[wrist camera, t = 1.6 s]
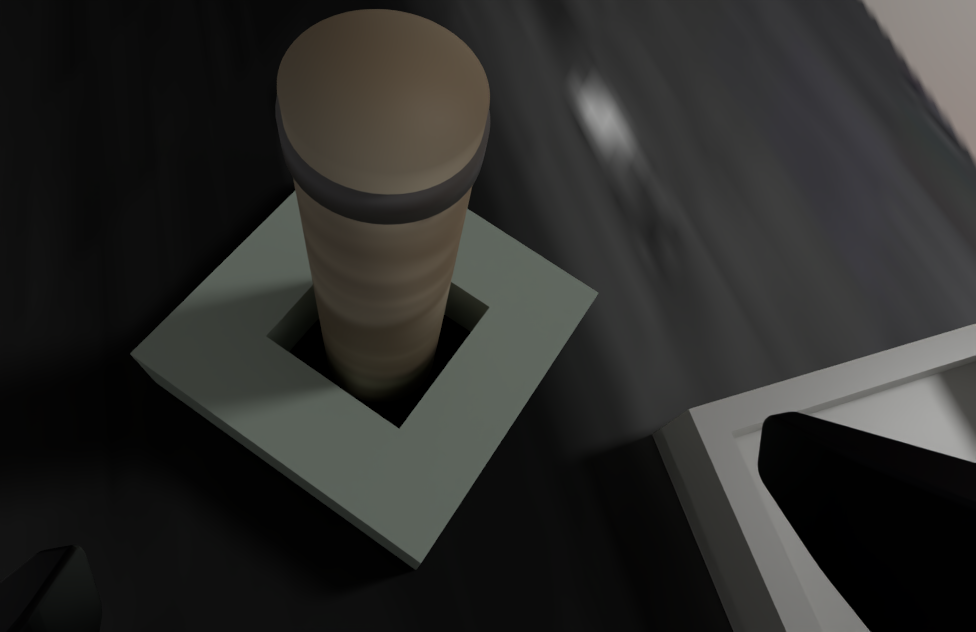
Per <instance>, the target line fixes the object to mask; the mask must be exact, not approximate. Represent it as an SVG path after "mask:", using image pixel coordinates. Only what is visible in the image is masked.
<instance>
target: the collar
mask: <svg viewBox="0 0 976 632" xmlns="http://www.w3.org/2000/svg"><path fill="white" fill-rule="evenodd" d="M597 295H598V292H596V291H595V290H593V289H591V288H590V287H588V286H587V285H585V284H584V283H582V282H581V281H579V280H577V279H576V278H574V277H573V276H571V275H570V274H568V273H567V272H565V271H563V270H562V269H560V268H559V267H557V266H556V265H554V264H553V263H551V262H549V261H548V260H546V259H545V258H543V257H542V256H540V255H539V254H537V253H535V252H534V251H532V250H531V249H529V248H528V247H526V246H524V245H523V244H521V243H520V242H518V241H517V240H515V239H514V238H512V237H510V236H509V235H507V234H506V233H504V232H503V231H501V230H500V229H498V228H496V227H495V226H493V225H492V224H490V223H489V222H487V221H486V220H484V219H482V218H481V217H479V216H478V215H476V214H475V213H473V212H472V211H470V210H468V209H467V211H466V216H465V220H464V225H463V230H462V234H461V239H460V243H459V248H458V252H457V257H456V262H455V266H454V271H453V275H452V280H451V285H450V289H449V294H448V298H447V303H446V307H445V312H444V315H446V316H447V317H449V318H450V319H452V320H453V321H455V322H456V323H458V324H459V325H461V326H463V327H464V328H466V329H467V330H469V331H470V332H471V333H470V334H469V336H468V337H467V338H466V340H465V341H464V342H463V344H462V345H461V347H460V348H459V349H458V351H457V352H456V353H455V355H454V356H453V357H452V359H451V360H450V361H449V363H448V364H447V365H446V367H445V368H444V369H443V371H442V372H441V373H440V375H439V376H438V377H437V379H436V380H435V382H434V383H433V384H432V386H431V387H430V388H429V390H428V391H427V392H426V394H425V395H424V396H423V398H422V399H421V400H420V402H419V403H418V404H417V406H416V407H415V408H414V410H413V411H412V412H411V414H410V415H409V417H408V418H407V419H406V421H405V422H404V423H403V425H402V426H401V427H400V429H399V428H397V427H396V426H394V425H393V424H391V423H390V422H389V421H387V420H386V419H384V418H383V417H381V416H380V415H378V414H377V413H376V412H374V411H373V410H371V409H370V408H368V407H367V406H366V405H364V404H363V403H361V402H360V401H358V400H357V399H355V398H354V397H353V396H351V395H350V394H348V393H347V392H345V391H344V390H343V389H341V388H340V387H338V386H337V385H335V384H334V383H332V382H331V381H330V380H328V379H327V378H325V377H324V376H322V375H321V374H320V373H318V372H317V371H315V370H314V369H312V368H311V367H309V366H308V365H307V364H305V363H304V362H302V361H301V360H299V359H298V358H297V357H295V356H294V355H292V354H291V353H289V351H290V350H291V349H292V348H293V347H294V346H295V345H296V343H297V342H298V341H299V340H300V339H301V338H302V337H303V336H304V334H305V333H306V332H307V331H308V330H309V329H310V328H311V326H312V325H313V324H314V323H315V322H316V321H317V320H318V319H319V314H318V309H317V303H316V298H315V292H314V287H313V282H312V276H311V271H310V266H309V260H308V255H307V250H306V244H305V239H304V233H303V228H302V223H301V217H300V212H299V207H298V201H297V196H296V191H294V192H293V193H292V194H291V195H290V196H289V197H288V198H287V199H286V200H285V201H284V202H283V203H282V204H281V205H280V206H279V207H278V208H277V209H276V210H275V211H274V212H273V213H272V214H271V215H270V216H269V217H268V218H267V219H266V220H265V221H264V222H263V223H262V224H261V225H260V226H259V227H258V228H257V229H256V230H255V231H254V232H253V233H252V234H251V235H250V236H249V237H248V238H247V239H246V240H245V241H244V242H243V243H242V244H241V245H240V246H239V247H238V248H237V249H236V250H234V251H233V252H232V253H231V254H230V255H229V256H228V257H227V258H226V259H225V260H224V261H223V262H222V263H221V264H220V265H219V266H218V267H217V268H216V269H215V270H214V271H213V272H212V273H211V274H210V275H209V276H208V277H207V278H206V279H205V280H204V281H203V282H202V283H201V284H200V285H199V286H198V287H197V288H196V289H195V290H194V291H193V292H192V293H191V294H190V295H189V296H188V297H187V298H186V299H185V300H184V301H183V302H182V303H181V304H180V305H179V306H178V307H177V308H176V309H175V310H174V311H173V312H172V313H171V314H170V315H169V316H168V317H167V318H166V319H165V320H164V321H163V322H162V323H161V324H160V325H159V326H158V327H157V328H156V329H155V330H154V331H153V332H152V333H150V334H149V335H148V336H147V337H146V338H145V339H144V340H143V341H142V342H141V343H140V344H139V345H138V346H137V347H136V348H135V349H134V350H133V351H132V352H131V353H130V354H131V356H132V357H133V358H134V359H135V360H136V361H137V362H138V363H139V364H140V365H141V367H142V368H143V369H144V370H145V371H146V372H147V373H148V374H149V375H150V376H151V378H152V379H153V380H154V381H155V382H156V383H157V384H159V385H160V386H162V387H163V388H164V389H166V390H167V391H168V392H170V393H171V394H173V395H174V396H175V397H177V398H178V399H180V400H181V401H182V402H184V403H185V404H186V405H188V406H189V407H191V408H192V409H193V410H195V411H196V412H198V413H199V414H200V415H202V416H203V417H204V418H206V419H207V420H209V421H210V422H211V423H213V424H214V425H216V426H217V427H218V428H220V429H221V430H223V431H224V432H225V433H227V434H228V435H229V436H231V437H232V438H234V439H235V440H236V441H238V442H239V443H241V444H242V445H243V446H245V447H246V448H247V449H249V450H250V451H252V452H253V453H254V454H256V455H257V456H259V457H260V458H261V459H263V460H264V461H265V462H267V463H268V464H270V465H271V466H272V467H274V468H275V469H277V470H278V471H279V472H281V473H282V474H283V475H285V476H286V477H288V478H289V479H290V480H292V481H293V482H295V483H296V484H297V485H299V486H300V487H301V488H303V489H304V490H306V491H307V492H308V493H310V494H311V495H313V496H314V497H315V498H317V499H318V500H319V501H321V502H322V503H324V504H325V505H326V506H328V507H329V508H331V509H332V510H333V511H335V512H336V513H338V514H339V515H340V516H342V517H343V518H344V519H346V520H347V521H349V522H350V523H351V524H353V525H354V526H356V527H357V528H358V529H360V530H361V531H362V532H364V533H365V534H367V535H368V536H369V537H371V538H372V539H374V540H375V541H376V542H378V543H379V544H380V545H382V546H383V547H385V548H386V549H387V550H389V551H390V552H392V553H393V554H394V555H396V556H397V557H398V558H400V559H401V560H403V561H404V562H405V563H407V564H408V565H410V566H411V567H412V568H414V569H415V570H416V569H417V568H418V566H419V565H420V564H421V562H422V561H423V559H424V558H425V556H426V555H427V553H428V552H429V550H430V549H431V547H432V546H433V544H434V543H435V541H436V539H437V538H438V536H439V535H440V533H441V532H442V530H443V529H444V527H445V526H446V524H447V523H448V521H449V520H450V518H451V517H452V515H453V514H454V512H455V511H456V509H457V508H458V506H459V504H460V503H461V501H462V500H463V498H464V497H465V495H466V494H467V492H468V491H469V489H470V488H471V486H472V485H473V483H474V482H475V480H476V479H477V477H478V476H479V474H480V473H481V471H482V469H483V468H484V466H485V465H486V463H487V462H488V460H489V459H490V457H491V456H492V454H493V453H494V451H495V450H496V448H497V447H498V445H499V444H500V442H501V441H502V439H503V438H504V436H505V434H506V433H507V431H508V430H509V428H510V427H511V425H512V424H513V422H514V421H515V419H516V418H517V416H518V415H519V413H520V412H521V410H522V409H523V407H524V406H525V404H526V403H527V401H528V399H529V398H530V396H531V395H532V393H533V392H534V390H535V389H536V387H537V386H538V384H539V383H540V381H541V380H542V378H543V377H544V375H545V374H546V372H547V371H548V369H549V368H550V366H551V365H552V363H553V361H554V360H555V358H556V357H557V355H558V354H559V352H560V351H561V349H562V348H563V346H564V345H565V343H566V342H567V340H568V339H569V337H570V336H571V334H572V333H573V331H574V330H575V328H576V326H577V325H578V323H579V322H580V320H581V319H582V317H583V316H584V314H585V313H586V311H587V310H588V308H589V307H590V305H591V304H592V302H593V301H594V299H595V298H596V296H597Z"/></svg>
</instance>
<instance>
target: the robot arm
mask: <svg viewBox="0 0 976 632" xmlns="http://www.w3.org/2000/svg"><path fill="white" fill-rule="evenodd" d="M757 465H758V472H759V476H760V478H761V480H762V482H763V484H764V485H765V487H766V488H767V490H768V491H769V493H770V494H771V496H772V498H773V499H774V501H775V502H776V504H777V505H778V507H779V508H780V510H781V511H782V513H783V514H784V516H785V517H786V519H787V520H788V522H789V523H790V525H791V526H792V528H793V529H794V531H795V532H796V534H797V535H798V537H799V538H800V540H801V541H802V543H803V544H804V546H805V547H806V549H807V550H808V552H809V554H810V555H811V556H812V558H813V559H814V561H815V562H816V564H817V565H818V566H819V568H820V569H821V570H822V572H823V573H824V574H825V576H826V577H827V578H828V580H829V581H830V582H831V584H832V585H833V586H834V587H835V588H836V590H837V591H838V592H839V593H840V595H841V596H842V597H843V598H844V600H845V601H846V602H847V603H848V605H849V606H850V607H851V608H852V610H853V611H854V612H855V613H856V615H857V616H858V617H859V618H860V620H861V621H862V622H863V623H864V624H865V626H866V627H867V628H868V629H869V631H870V632H976V463H974V462H971V461H967V460H964V459H960V458H957V457H953V456H950V455H946V454H943V453H939V452H936V451H932V450H929V449H925V448H922V447H918V446H915V445H911V444H908V443H904V442H900V441H897V440H893V439H890V438H886V437H883V436H879V435H876V434H872V433H869V432H865V431H862V430H858V429H855V428H851V427H848V426H844V425H841V424H837V423H834V422H830V421H827V420H823V419H820V418H816V417H813V416H809V415H806V414H802V413H799V412H785V413H779V414H774V415H770V416H768V417H767V418H766V419H765V420H764V422H763V425H762V431H761V439H760V447H759V455H758V464H757ZM101 616H102V609H101V600H100V596H99V593H98V590H97V587H96V584H95V581H94V578H93V575H92V572H91V569H90V566H89V563H88V560H87V557H86V554H85V552H84V551H83V549H82V548H81V547H79V546H77V545H69V546H64V547H58V548H53V549H48V550H43V551H40V552H38V553H36V554H35V555H34V556H32V557H31V558H30V559H28V560H27V561H26V562H25V563H23V564H22V565H21V566H20V567H18V568H17V569H16V570H15V571H13V572H12V573H11V574H10V575H8V576H7V577H6V578H5V579H3V580H2V581H1V582H0V632H99V630H100V624H101Z"/></svg>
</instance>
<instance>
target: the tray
mask: <svg viewBox="0 0 976 632" xmlns="http://www.w3.org/2000/svg"><path fill="white" fill-rule="evenodd" d="M785 412H799V413H802V414H806V415H809V416H813V417H816V418H820V419H823V420H827V421H830V422H834V423H837V424H841V425H844V426H848V427H851V428H855V429H858V430H862V431H865V432H869V433H872V434H876V435H879V436H883V437H886V438H890V439H893V440H897V441H900V442H904V443H908V444H911V445H915V446H918V447H922V448H925V449H929V450H932V451H936V452H939V453H943V454H946V455H950V456H953V457H957V458H960V459H964V460H967V461H971V462H974V463H976V324H973V325H970V326H966V327H963V328H960V329H956V330H953V331H950V332H946V333H943V334H939V335H936V336H933V337H929V338H926V339H923V340H919V341H916V342H913V343H909V344H906V345H903V346H899V347H896V348H892V349H889V350H886V351H882V352H879V353H876V354H872V355H869V356H866V357H862V358H859V359H856V360H852V361H849V362H845V363H842V364H839V365H835V366H832V367H829V368H825V369H822V370H819V371H815V372H812V373H809V374H805V375H802V376H799V377H795V378H792V379H788V380H785V381H782V382H778V383H775V384H772V385H768V386H765V387H762V388H758V389H755V390H752V391H748V392H745V393H741V394H738V395H735V396H731V397H728V398H725V399H721V400H718V401H715V402H711V403H708V404H705V405H701V406H698V407H694V408H691V409H688V410H687V411H685V412H684V413H682V414H681V415H680V416H678V417H677V418H675V419H674V420H672V421H671V422H669V423H668V424H666V425H665V426H664V427H662V428H661V429H659V430H658V431H656V432H655V433H653V434H652V436H653V438H654V440H655V443H656V445H657V448H658V450H659V453H660V455H661V457H662V460H663V462H664V465H665V467H666V469H667V472H668V474H669V477H670V479H671V482H672V484H673V486H674V489H675V491H676V494H677V496H678V499H679V501H680V503H681V506H682V508H683V511H684V513H685V515H686V518H687V520H688V523H689V525H690V528H691V530H692V532H693V535H694V537H695V540H696V542H697V545H698V547H699V549H700V552H701V554H702V557H703V559H704V561H705V564H706V566H707V569H708V571H709V574H710V576H711V578H712V581H713V583H714V586H715V588H716V591H717V593H718V595H719V598H720V600H721V603H722V605H723V608H724V610H725V612H726V615H727V617H728V620H729V622H730V624H731V627H732V629H733V632H870V631H869V629H868V628H867V627H866V626H865V624H864V623H863V622H862V621H861V620H860V618H859V617H858V616H857V615H856V613H855V612H854V611H853V610H852V608H851V607H850V606H849V605H848V603H847V602H846V601H845V600H844V598H843V597H842V596H841V595H840V593H839V592H838V591H837V590H836V588H835V587H834V586H833V585H832V584H831V582H830V581H829V580H828V578H827V577H826V576H825V574H824V573H823V572H822V570H821V569H820V568H819V566H818V565H817V564H816V562H815V561H814V559H813V558H812V556H811V555H810V554H809V552H808V550H807V549H806V547H805V546H804V544H803V543H802V541H801V540H800V538H799V537H798V535H797V534H796V532H795V531H794V529H793V528H792V526H791V525H790V523H789V522H788V520H787V519H786V517H785V516H784V514H783V513H782V511H781V510H780V508H779V507H778V505H777V504H776V502H775V501H774V499H773V498H772V496H771V494H770V493H769V491H768V490H767V488H766V487H765V485H764V484H763V482H762V480H761V478H760V476H759V472H758V465H757V464H758V455H759V447H760V439H761V431H762V425H763V422H764V420H765V419H766V418H767V417H768V416H770V415H774V414H779V413H785Z"/></svg>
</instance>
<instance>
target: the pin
mask: <svg viewBox="0 0 976 632" xmlns="http://www.w3.org/2000/svg"><path fill="white" fill-rule="evenodd" d="M489 103H490V90H489V85H488V80H487V77H486V74H485V71H484V69H483V67H482V65H481V64H480V62H479V60H478V59H477V57H476V56H475V54H474V53H473V52H472V50H471V49H470V48H469V47H468V46H467V45H466V44H465V43H464V42H463V41H462V40H461V39H459V38H458V37H457V36H456V35H454V34H453V33H452V32H450V31H449V30H447V29H446V28H444V27H442V26H440V25H438V24H436V23H435V22H432V21H430V20H427V19H425V18H423V17H419V16H416V15H413V14H410V13H405V12H400V11H393V10H384V9H368V10H357V11H351V12H346V13H342V14H339V15H335V16H332V17H330V18H328V19H325V20H323V21H321V22H319V23H317V24H315V25H314V26H312V27H310V28H309V29H308V30H306V31H305V32H304V33H302V34H301V35H300V36H299V37H298V38H297V39H296V40H295V41H294V42H293V43H292V45H291V46H290V47H289V49H288V50H287V52H286V54H285V55H284V57H283V59H282V62H281V65H280V67H279V71H278V77H277V99H276V121H277V126H278V131H279V136H280V141H281V146H282V151H283V156H284V159H285V162H286V165H287V167H288V169H289V171H290V173H291V175H292V177H293V180H294V185H295V191H296V196H297V201H298V207H299V212H300V217H301V223H302V228H303V233H304V239H305V244H306V250H307V255H308V260H309V266H310V271H311V276H312V282H313V287H314V292H315V298H316V303H317V309H318V314H319V319H320V325H321V330H322V335H323V341H324V346H325V351H326V357H327V362H328V366H329V369H330V372H331V374H332V376H333V378H334V379H335V380H336V382H337V383H338V384H339V385H340V386H341V387H342V388H343V389H344V390H345V391H346V392H348V393H349V394H351V395H353V396H354V397H357V398H359V399H362V400H365V401H369V402H380V403H383V402H391V401H396V400H399V399H401V398H404V397H406V396H408V395H410V394H411V393H413V392H414V391H416V390H417V389H418V388H419V387H420V386H421V385H422V384H423V383H424V381H425V380H426V378H427V377H428V375H429V373H430V371H431V369H432V366H433V362H434V358H435V353H436V349H437V344H438V339H439V335H440V330H441V326H442V321H443V317H444V312H445V307H446V303H447V298H448V294H449V289H450V285H451V280H452V275H453V271H454V266H455V262H456V257H457V252H458V248H459V243H460V239H461V234H462V230H463V225H464V220H465V216H466V211H467V207H468V202H469V198H470V193H471V188H472V185H473V184H474V182H475V180H476V178H477V176H478V174H479V172H480V169H481V166H482V163H483V158H484V154H485V150H486V145H487V141H488V136H489V130H490V111H489Z"/></svg>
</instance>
